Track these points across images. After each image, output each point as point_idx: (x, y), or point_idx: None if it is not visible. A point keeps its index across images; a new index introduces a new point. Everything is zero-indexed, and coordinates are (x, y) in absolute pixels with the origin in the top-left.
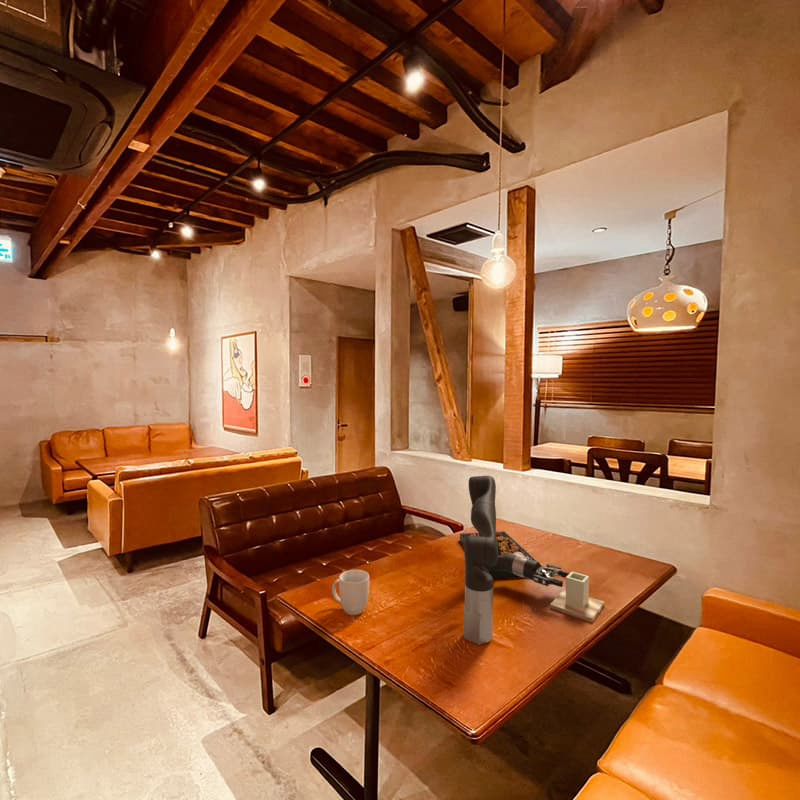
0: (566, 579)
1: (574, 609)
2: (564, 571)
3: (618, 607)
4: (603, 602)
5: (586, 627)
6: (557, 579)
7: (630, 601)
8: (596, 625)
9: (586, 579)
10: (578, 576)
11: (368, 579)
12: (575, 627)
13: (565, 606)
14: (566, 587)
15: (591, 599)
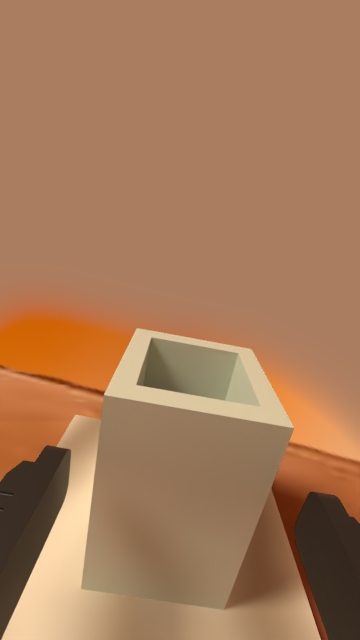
0: (284, 442)
1: None
2: (1, 517)
3: (70, 395)
4: (85, 417)
5: (304, 474)
6: (350, 553)
7: (5, 369)
8: None
9: (194, 339)
10: (141, 377)
11: None
12: (353, 513)
13: (266, 595)
14: (260, 503)
15: (73, 459)
